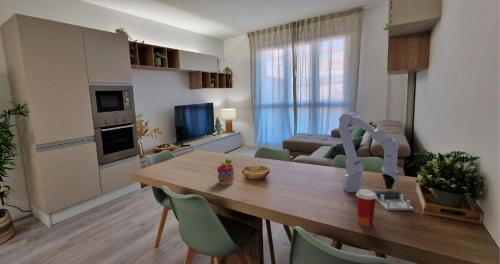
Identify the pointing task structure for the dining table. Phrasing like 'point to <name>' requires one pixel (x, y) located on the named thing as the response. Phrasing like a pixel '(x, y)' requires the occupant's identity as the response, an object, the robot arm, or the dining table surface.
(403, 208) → the board
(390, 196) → the dark grey capsule
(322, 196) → the dining table surface
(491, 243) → the dining table surface
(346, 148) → the robot arm
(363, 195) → the paper cup
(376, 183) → the dining table surface
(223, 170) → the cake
